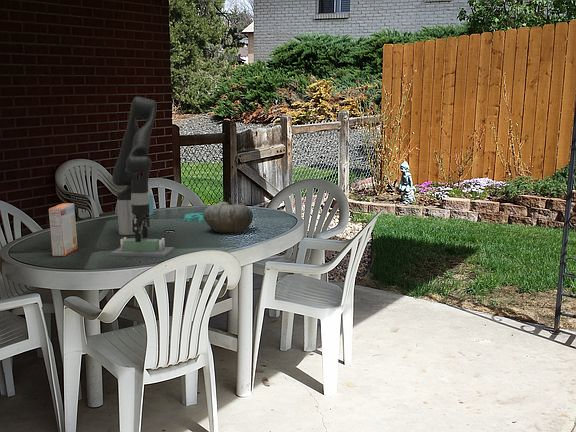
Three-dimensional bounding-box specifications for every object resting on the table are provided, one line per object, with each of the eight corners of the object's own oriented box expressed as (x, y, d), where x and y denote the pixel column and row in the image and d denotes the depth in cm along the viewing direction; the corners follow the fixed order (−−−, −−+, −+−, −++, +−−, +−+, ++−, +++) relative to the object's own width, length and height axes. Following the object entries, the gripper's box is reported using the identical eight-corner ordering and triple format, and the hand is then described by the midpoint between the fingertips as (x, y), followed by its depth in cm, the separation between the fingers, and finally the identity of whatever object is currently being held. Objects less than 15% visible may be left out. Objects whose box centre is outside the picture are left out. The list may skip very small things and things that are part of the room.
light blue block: (147, 214, 394) (146, 193, 392) (153, 214, 392) (153, 193, 390) (133, 217, 384) (132, 196, 382) (140, 217, 382) (139, 196, 380)
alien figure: (227, 218, 380) (202, 215, 392) (227, 214, 379) (202, 211, 392) (200, 224, 365) (175, 220, 377) (200, 219, 364) (175, 216, 377)
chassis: (122, 248, 304) (122, 234, 303) (174, 249, 301) (174, 236, 300) (110, 255, 291) (109, 241, 290) (164, 257, 288) (164, 242, 286)
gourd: (204, 232, 327) (207, 196, 327) (199, 231, 351) (201, 197, 351) (256, 234, 332) (258, 199, 332) (247, 233, 357) (249, 200, 357)
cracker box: (65, 249, 304) (62, 202, 300) (78, 249, 303) (75, 203, 300) (51, 256, 290) (47, 208, 287) (64, 256, 290) (61, 208, 286)
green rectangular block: (129, 248, 299) (128, 238, 298) (159, 249, 297) (159, 239, 296) (124, 250, 294) (124, 240, 294) (155, 251, 292) (155, 241, 292)
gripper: (142, 205, 285) (144, 243, 288) (154, 200, 299) (155, 236, 301) (125, 205, 286) (127, 243, 289) (137, 200, 300) (139, 236, 303)
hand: (141, 239), depth 295 cm, fingers open, 8 cm apart
